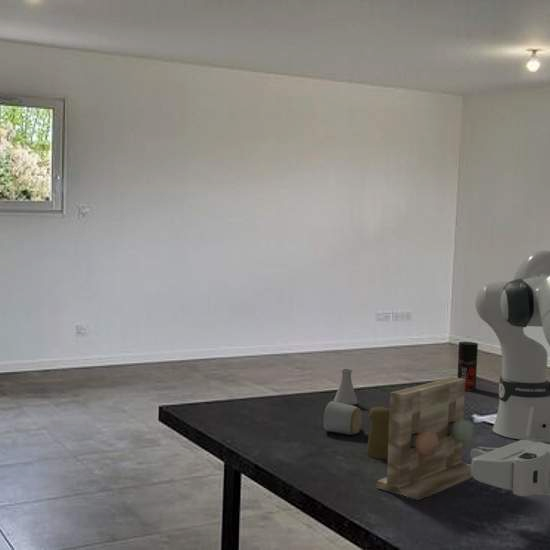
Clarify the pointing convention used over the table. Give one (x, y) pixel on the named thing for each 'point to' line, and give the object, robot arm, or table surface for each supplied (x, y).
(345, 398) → the flask
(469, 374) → the deodorant
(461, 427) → the button sage
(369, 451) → the cork
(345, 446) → the table surface
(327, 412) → the ceramic mug
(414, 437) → the button terracotta
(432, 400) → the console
